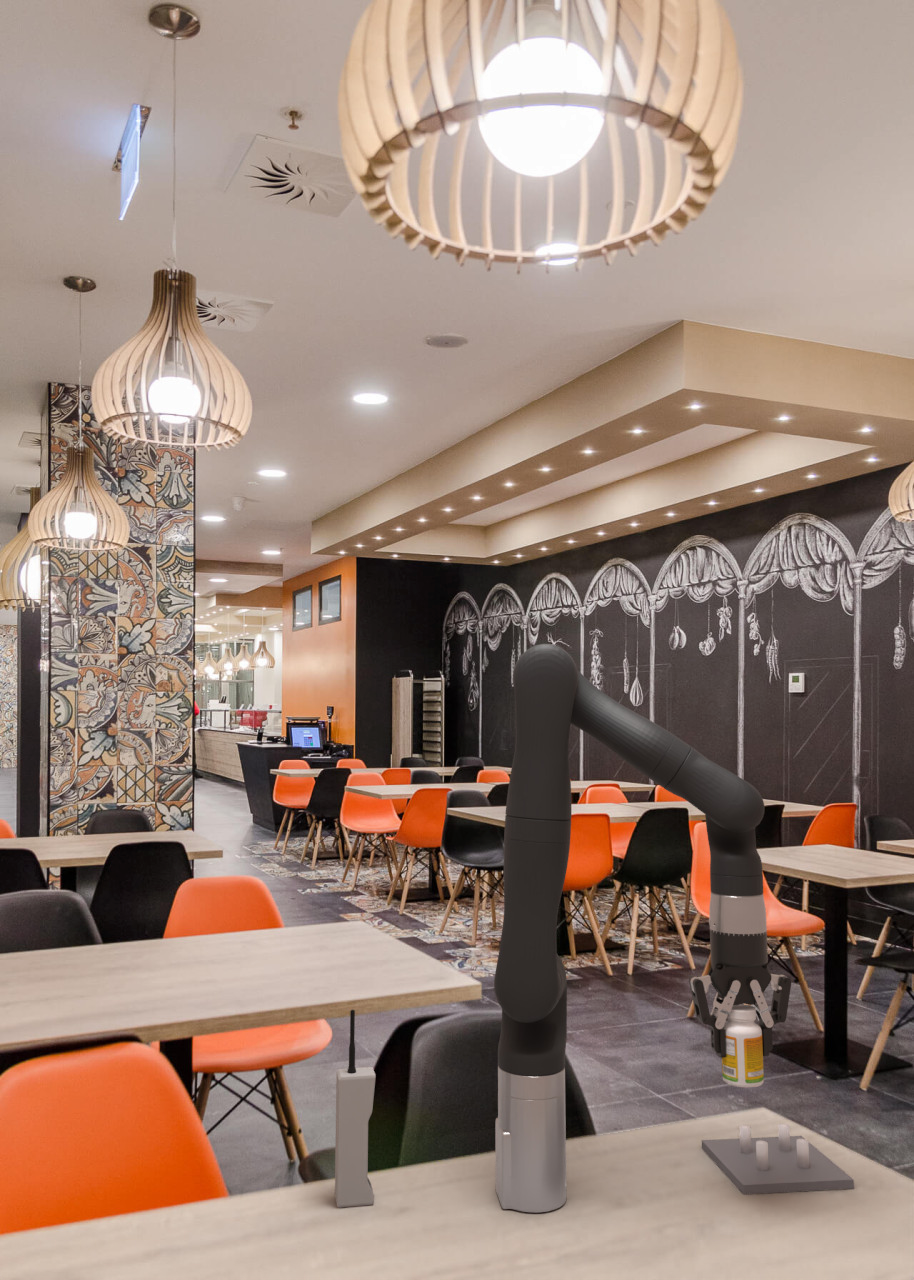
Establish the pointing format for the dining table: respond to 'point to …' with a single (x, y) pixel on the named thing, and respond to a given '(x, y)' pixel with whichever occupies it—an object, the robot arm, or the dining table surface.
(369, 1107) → the vintage mobile phone
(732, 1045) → the supplement bottle
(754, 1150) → the pin holder
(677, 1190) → the dining table surface
